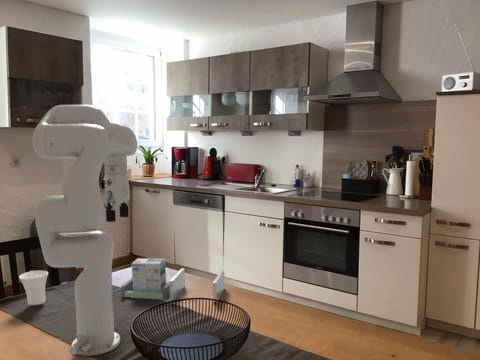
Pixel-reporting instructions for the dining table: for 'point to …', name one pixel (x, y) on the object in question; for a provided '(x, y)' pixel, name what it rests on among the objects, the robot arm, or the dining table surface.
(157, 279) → the light bulb box
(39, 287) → the cup
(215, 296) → the white holder
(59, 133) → the robot arm
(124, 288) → the tray
